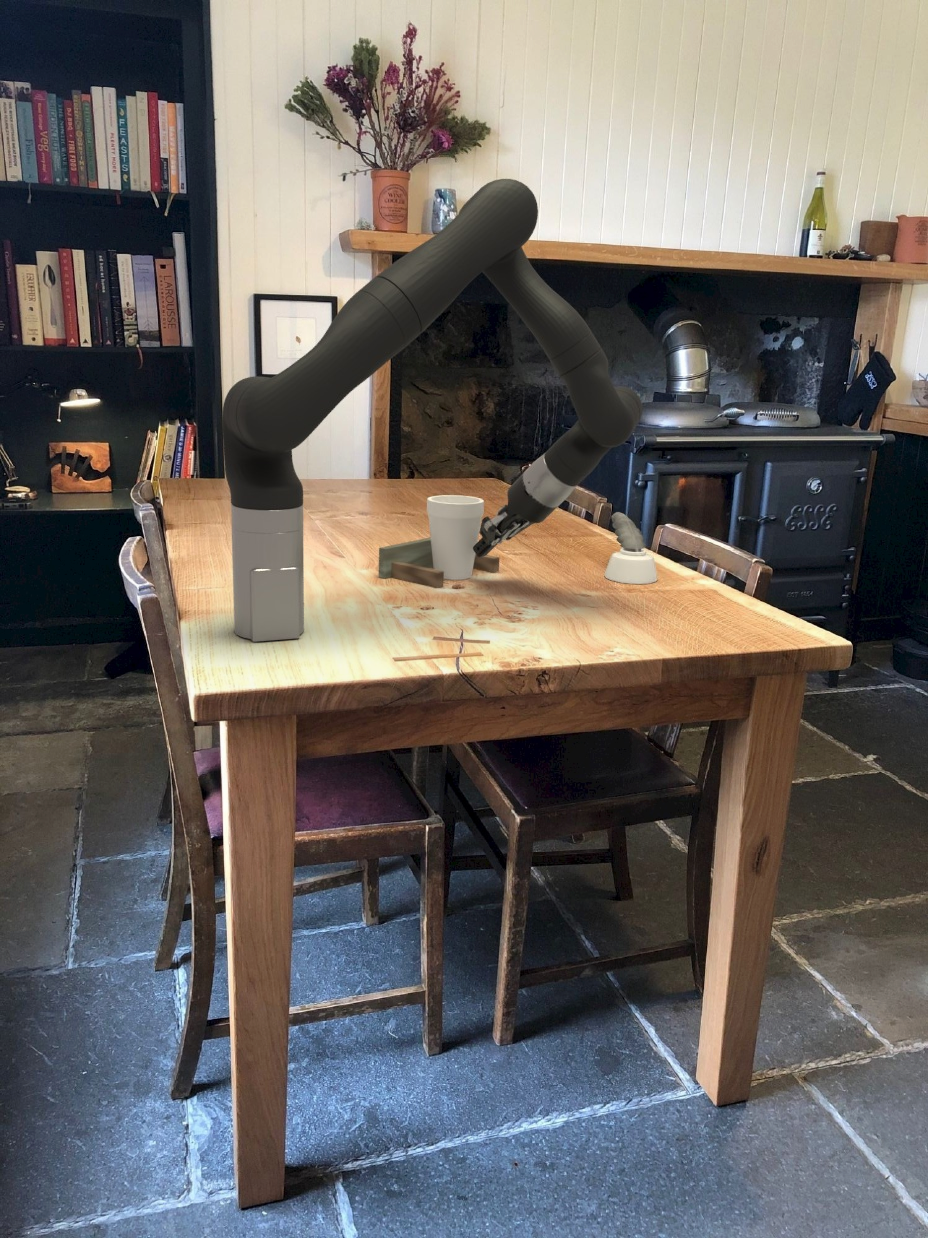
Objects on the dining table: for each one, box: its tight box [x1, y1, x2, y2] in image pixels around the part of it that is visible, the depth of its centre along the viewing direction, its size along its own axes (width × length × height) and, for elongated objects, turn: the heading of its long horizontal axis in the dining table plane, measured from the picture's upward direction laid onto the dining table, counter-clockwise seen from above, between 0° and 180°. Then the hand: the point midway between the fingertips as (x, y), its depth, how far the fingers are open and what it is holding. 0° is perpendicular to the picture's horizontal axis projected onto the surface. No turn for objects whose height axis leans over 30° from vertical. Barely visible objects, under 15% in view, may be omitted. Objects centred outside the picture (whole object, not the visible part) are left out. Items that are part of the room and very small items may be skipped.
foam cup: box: [426, 494, 485, 581], centre depth 165 cm, size 10×9×13 cm
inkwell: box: [603, 511, 658, 585], centre depth 173 cm, size 9×18×10 cm, turn 12°
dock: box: [378, 537, 501, 589], centre depth 168 cm, size 12×20×5 cm, turn 142°
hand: (478, 552), depth 163 cm, fingers closed
